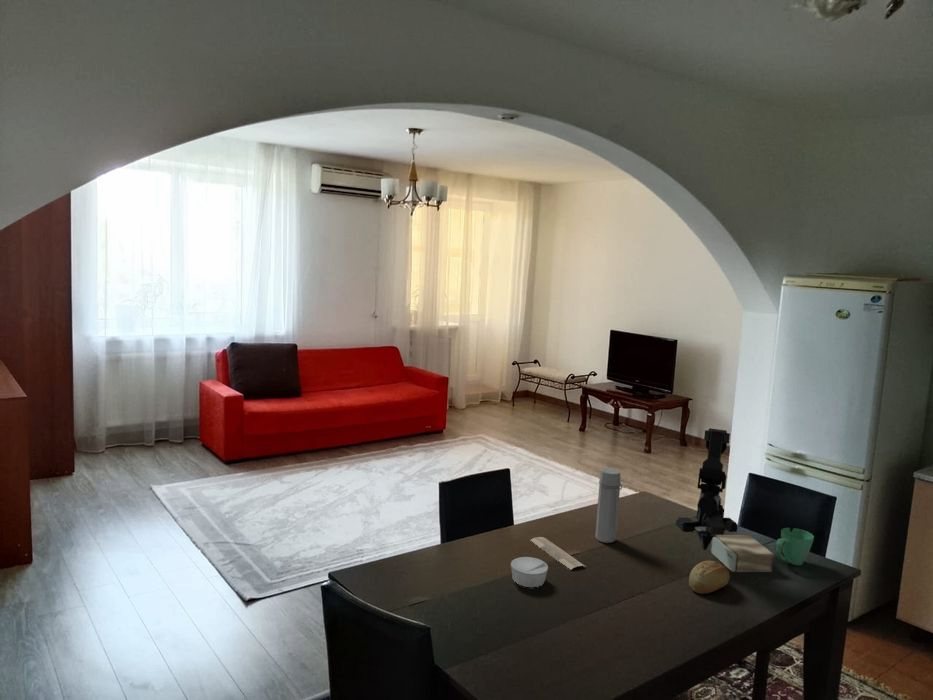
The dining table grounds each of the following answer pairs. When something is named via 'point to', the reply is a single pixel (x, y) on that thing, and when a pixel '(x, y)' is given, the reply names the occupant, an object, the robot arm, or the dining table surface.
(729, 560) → the door
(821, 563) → the dining table surface
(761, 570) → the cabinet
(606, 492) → the water bottle
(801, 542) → the mug
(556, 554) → the newspaper
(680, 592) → the dining table surface
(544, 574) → the ramekin
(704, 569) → the bread roll
